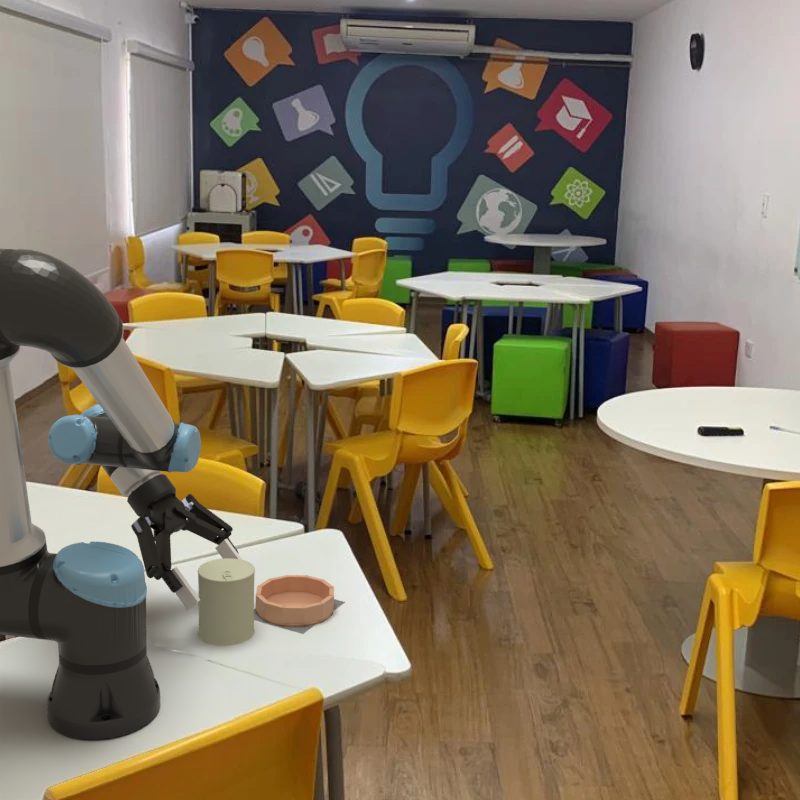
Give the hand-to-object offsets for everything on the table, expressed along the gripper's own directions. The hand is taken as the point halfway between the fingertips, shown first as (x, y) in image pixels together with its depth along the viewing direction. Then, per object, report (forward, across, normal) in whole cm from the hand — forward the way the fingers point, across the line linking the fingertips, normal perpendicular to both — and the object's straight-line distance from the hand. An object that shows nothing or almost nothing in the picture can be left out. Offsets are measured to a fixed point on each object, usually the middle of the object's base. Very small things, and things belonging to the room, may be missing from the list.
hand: (219, 589), depth 159 cm
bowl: (+10, +12, 0) cm, 16 cm away
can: (+7, 0, +4) cm, 8 cm away
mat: (+10, +12, 0) cm, 16 cm away
